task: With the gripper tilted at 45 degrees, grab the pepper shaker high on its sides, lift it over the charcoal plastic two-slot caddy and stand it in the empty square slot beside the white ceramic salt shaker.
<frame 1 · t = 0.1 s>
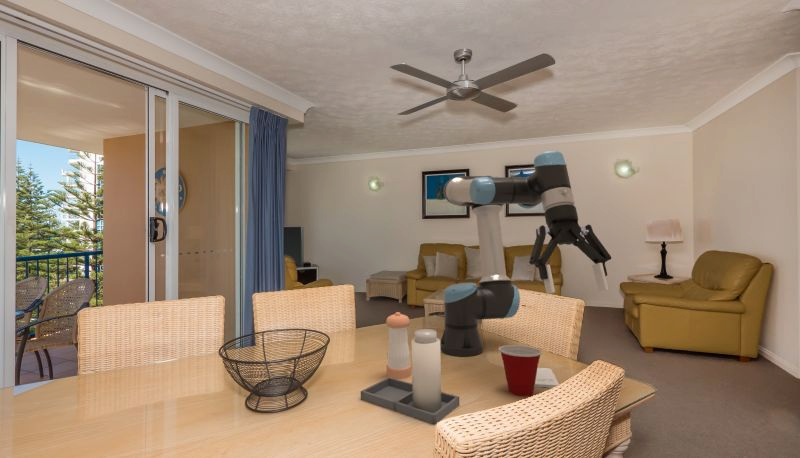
hand: (577, 292, 90), 28 cm above the table, tool tilted 20°, fingers open, 13 cm apart
plastic cup: (520, 395, 99), on the table
shaker caddy: (409, 406, 93), on the table
salt shaker: (427, 407, 90), point 1 cm above the table, touching shaker caddy
pepper shaker: (399, 378, 112), on the table
external hard drive: (540, 381, 109), on the table
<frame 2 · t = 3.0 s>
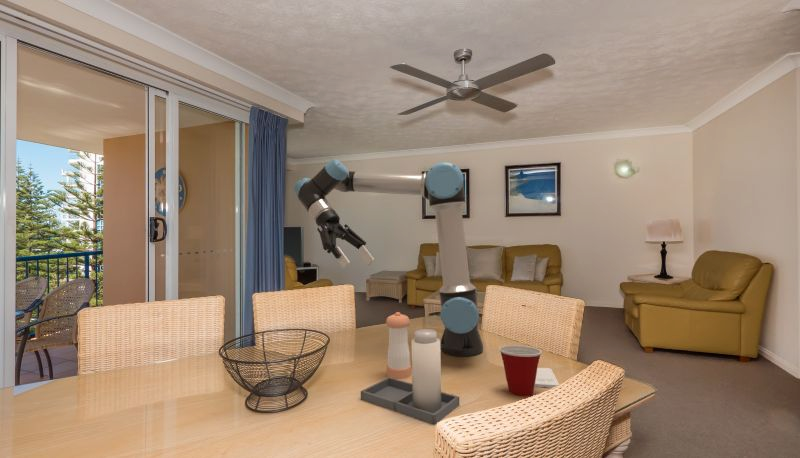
hand: (359, 263, 121), 33 cm above the table, tool tilted 40°, fingers open, 13 cm apart
nothing on the table moved.
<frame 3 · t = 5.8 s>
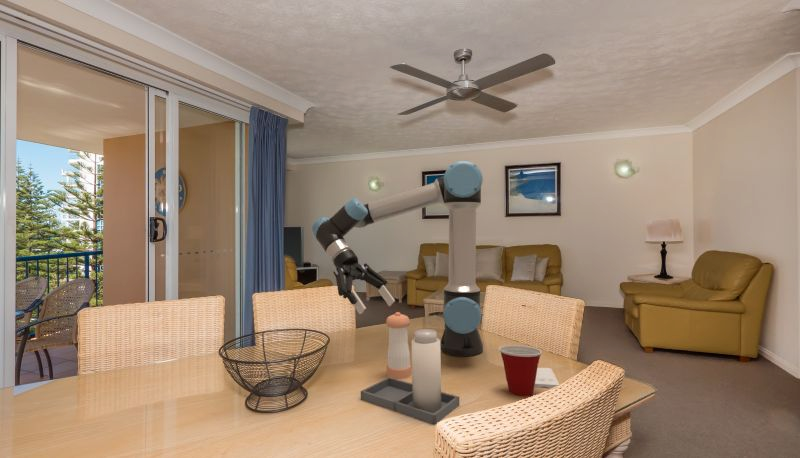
hand: (378, 307, 115), 20 cm above the table, tool tilted 45°, fingers open, 13 cm apart
nothing on the table moved.
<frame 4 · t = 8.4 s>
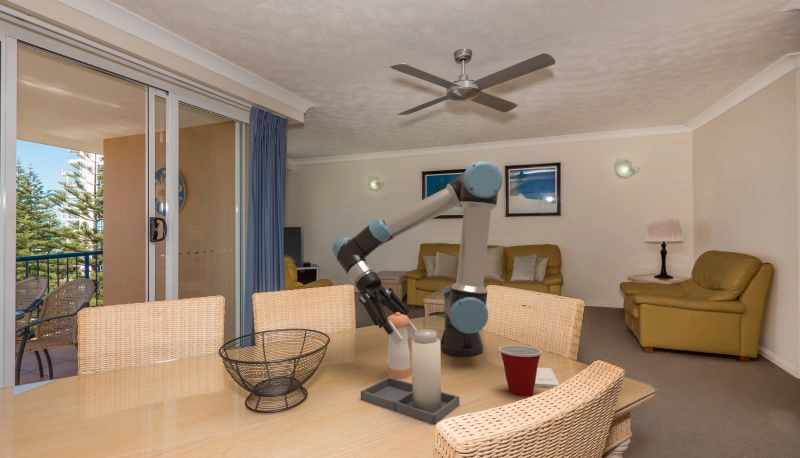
hand: (407, 338, 109), 12 cm above the table, tool tilted 45°, fingers closed on pepper shaker, 7 cm apart
pepper shaker: (399, 378, 112), on the table, touching gripper
everything else where it was.
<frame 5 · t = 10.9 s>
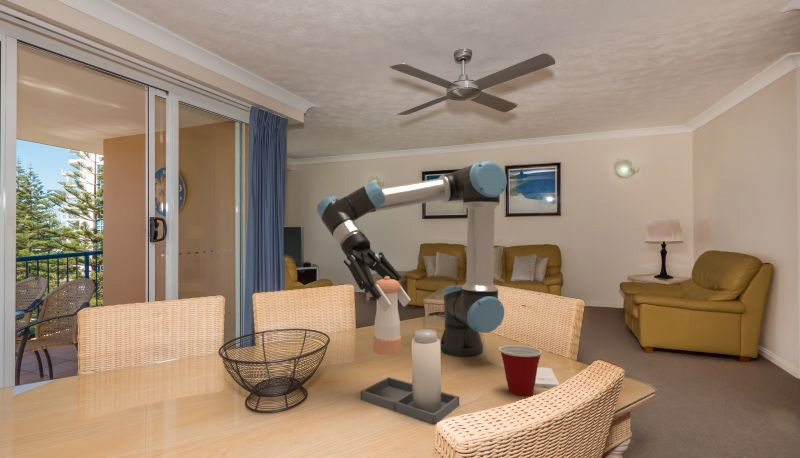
hand: (397, 305, 96), 24 cm above the table, tool tilted 45°, fingers closed on pepper shaker, 7 cm apart
pepper shaker: (387, 351, 98), point 12 cm above the table, touching gripper
everything else where it was.
when the fingers open (14 cm above the table, at t = 13.7 s): pepper shaker drops 1 cm, resting on shaker caddy.
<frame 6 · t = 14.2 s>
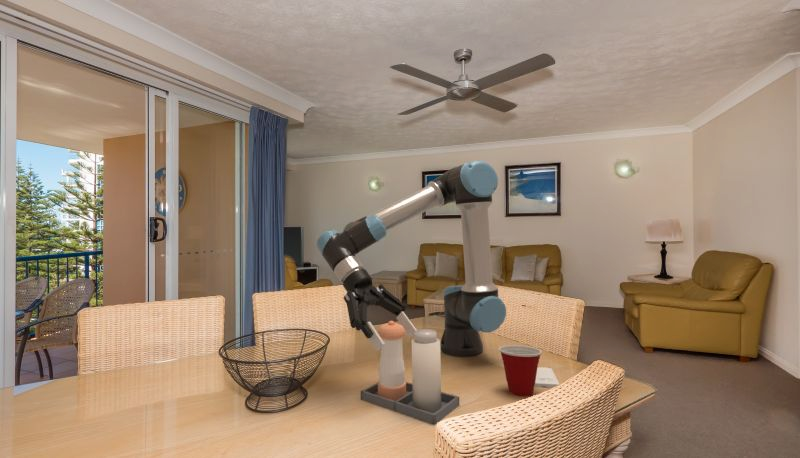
hand: (398, 340, 95), 16 cm above the table, tool tilted 45°, fingers open, 13 cm apart
pepper shaker: (392, 397, 97), point 1 cm above the table, touching shaker caddy
everything else where it was.
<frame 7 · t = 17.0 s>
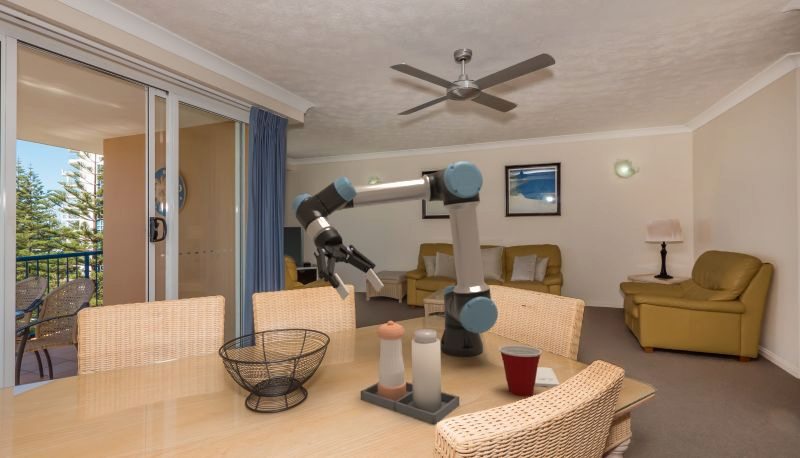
hand: (364, 292, 102), 27 cm above the table, tool tilted 45°, fingers open, 13 cm apart
nothing on the table moved.
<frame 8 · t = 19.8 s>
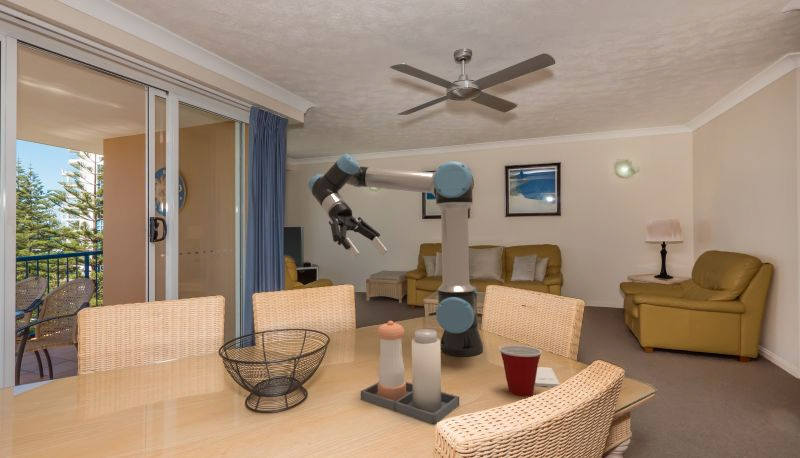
hand: (371, 254, 122), 36 cm above the table, tool tilted 45°, fingers open, 13 cm apart
nothing on the table moved.
at the end: pepper shaker 0.1 cm from the target spot on the shaker caddy, point 0.8 cm above the shaker caddy's base; pepper shaker tilted 0°; the gripper is holding nothing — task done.
